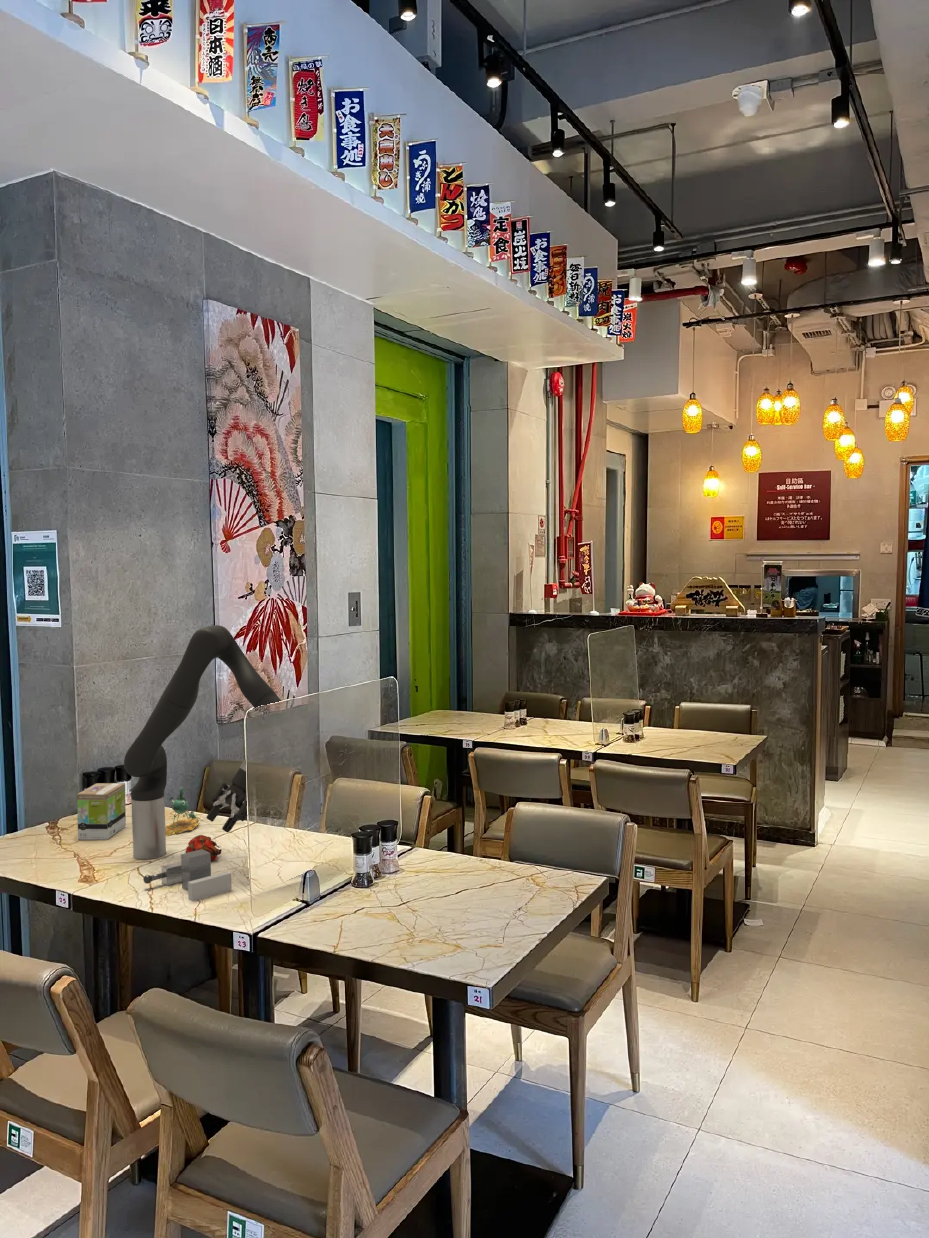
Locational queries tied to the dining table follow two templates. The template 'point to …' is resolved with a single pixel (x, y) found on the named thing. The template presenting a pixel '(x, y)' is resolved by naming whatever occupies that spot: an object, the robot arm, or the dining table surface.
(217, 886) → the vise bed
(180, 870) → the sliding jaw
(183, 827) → the frog figurine
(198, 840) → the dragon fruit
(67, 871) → the dining table surface
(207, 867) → the steel block
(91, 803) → the tea box
